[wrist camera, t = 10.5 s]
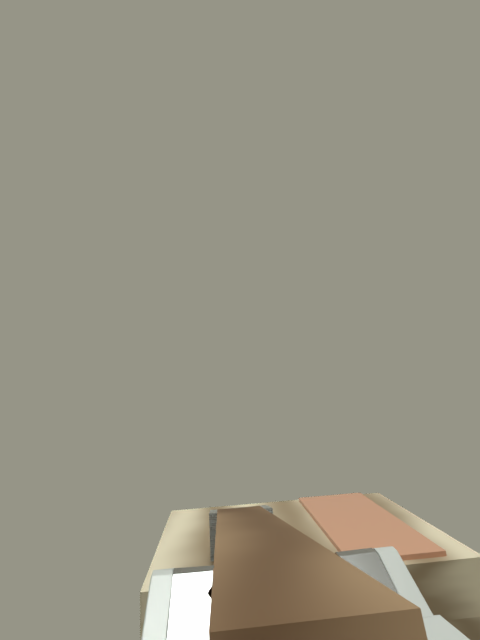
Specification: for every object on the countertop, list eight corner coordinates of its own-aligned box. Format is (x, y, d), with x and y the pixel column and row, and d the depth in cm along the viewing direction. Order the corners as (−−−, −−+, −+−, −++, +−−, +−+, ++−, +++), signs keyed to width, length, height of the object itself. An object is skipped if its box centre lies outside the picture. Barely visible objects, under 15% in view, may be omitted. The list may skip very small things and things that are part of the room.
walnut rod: (169, 938, 4) (171, 637, 5) (211, 551, 24) (210, 509, 25) (524, 874, 4) (453, 604, 5) (270, 546, 24) (266, 504, 25)
